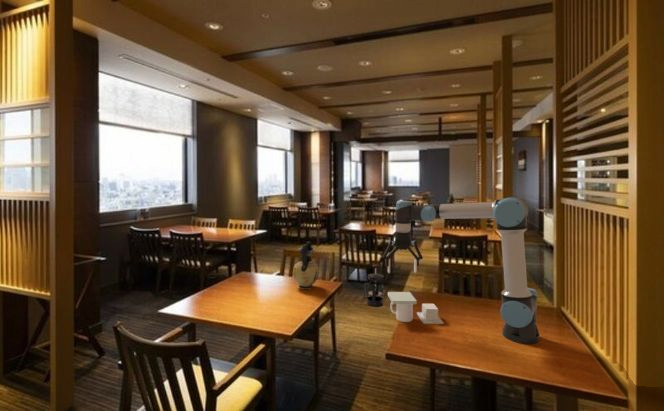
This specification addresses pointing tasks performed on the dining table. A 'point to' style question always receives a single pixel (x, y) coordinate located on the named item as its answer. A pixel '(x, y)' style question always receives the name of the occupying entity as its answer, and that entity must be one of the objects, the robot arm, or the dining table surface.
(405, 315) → the cup
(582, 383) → the dining table surface
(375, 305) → the french press
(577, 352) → the dining table surface
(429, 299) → the dining table surface
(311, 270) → the amphora
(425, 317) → the white butter dish
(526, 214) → the robot arm
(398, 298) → the white flat slab
